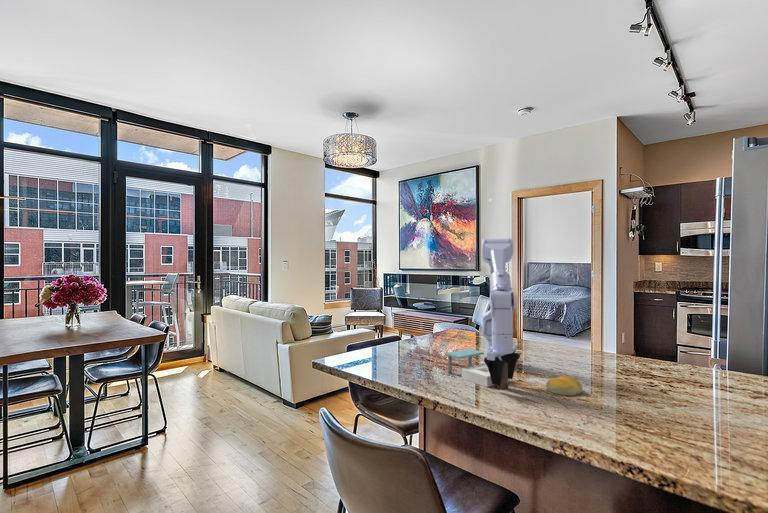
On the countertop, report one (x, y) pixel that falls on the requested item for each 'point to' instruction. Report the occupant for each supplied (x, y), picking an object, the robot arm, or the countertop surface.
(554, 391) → the bread roll
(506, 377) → the peg
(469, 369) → the socket block
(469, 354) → the awning
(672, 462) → the countertop surface
